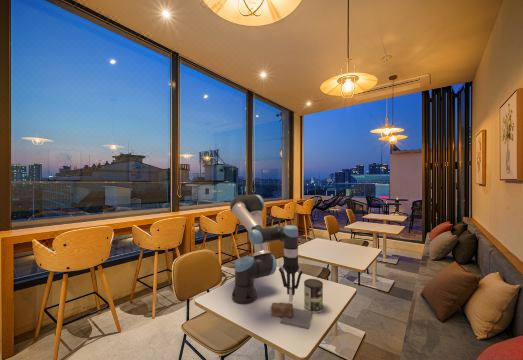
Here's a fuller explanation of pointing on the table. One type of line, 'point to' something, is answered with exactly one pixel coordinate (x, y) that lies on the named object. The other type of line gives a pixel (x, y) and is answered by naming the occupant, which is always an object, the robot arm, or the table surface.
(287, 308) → the walnut block
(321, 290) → the coffee can
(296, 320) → the slate coaster
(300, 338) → the table surface
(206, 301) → the table surface
